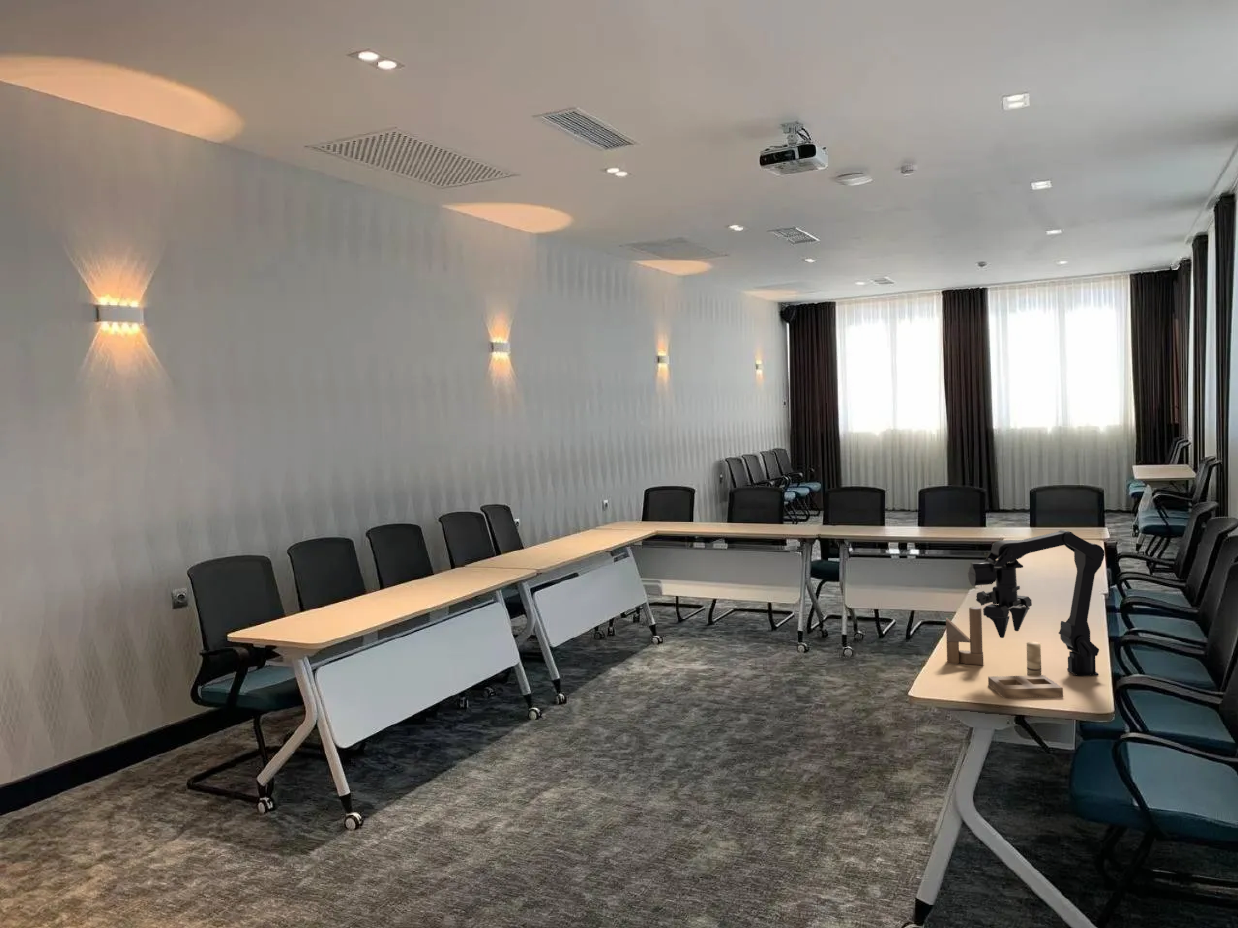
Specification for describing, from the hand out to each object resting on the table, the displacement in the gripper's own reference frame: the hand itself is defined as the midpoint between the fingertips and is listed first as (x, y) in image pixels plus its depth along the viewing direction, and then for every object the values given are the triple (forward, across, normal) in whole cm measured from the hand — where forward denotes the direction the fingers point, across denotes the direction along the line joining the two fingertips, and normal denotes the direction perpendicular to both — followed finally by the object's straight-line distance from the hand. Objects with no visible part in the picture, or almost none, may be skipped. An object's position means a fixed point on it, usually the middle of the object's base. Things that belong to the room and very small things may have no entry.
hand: (1009, 634), depth 261 cm
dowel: (+13, -4, +5) cm, 14 cm away
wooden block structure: (+13, -4, -17) cm, 21 cm away
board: (+13, +11, +9) cm, 19 cm away
